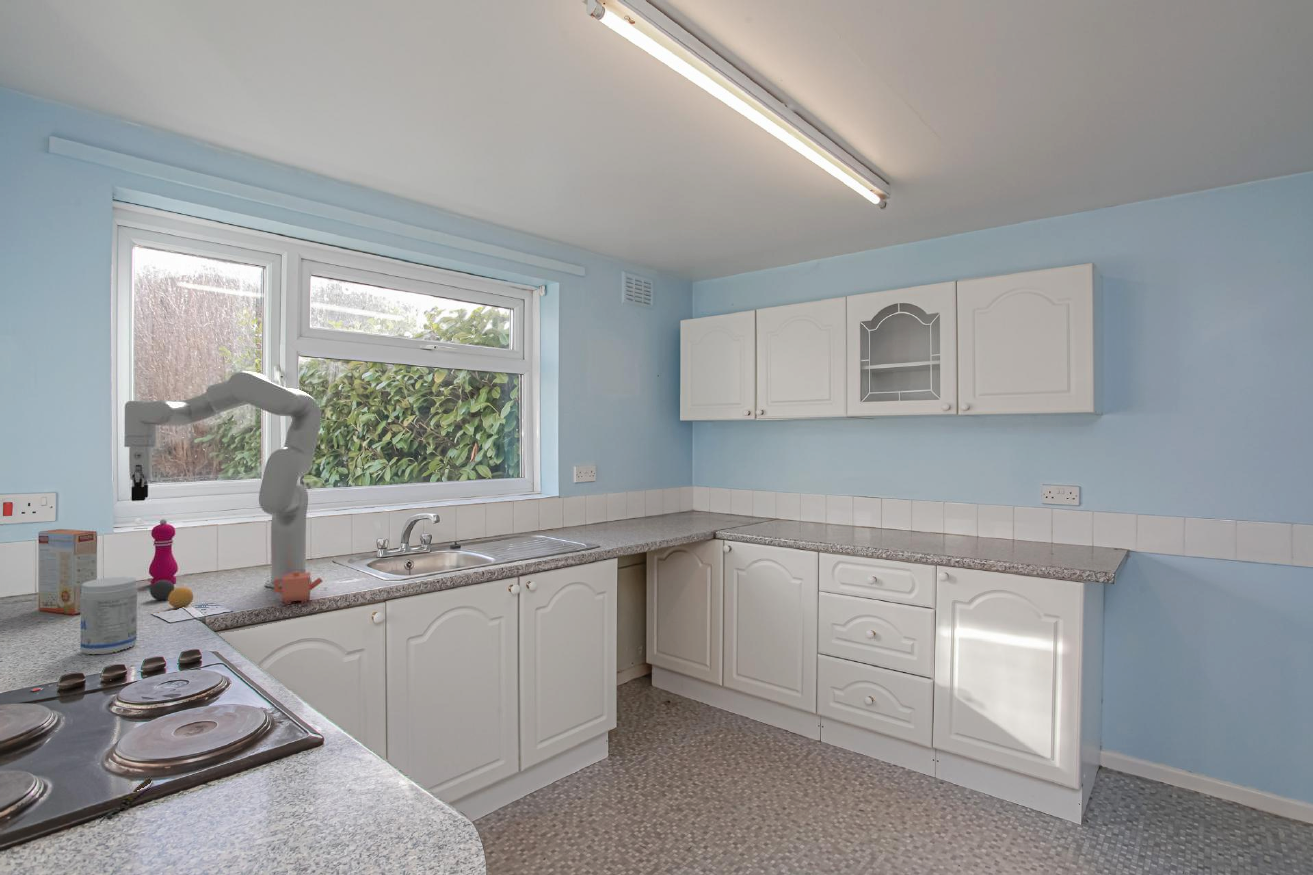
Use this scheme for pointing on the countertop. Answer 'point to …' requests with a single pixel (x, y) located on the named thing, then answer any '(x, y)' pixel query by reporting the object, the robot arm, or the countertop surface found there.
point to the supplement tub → (108, 615)
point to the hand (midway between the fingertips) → (139, 499)
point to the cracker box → (65, 568)
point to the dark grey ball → (161, 589)
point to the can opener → (126, 800)
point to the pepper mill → (163, 554)
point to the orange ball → (180, 597)
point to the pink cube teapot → (295, 587)
